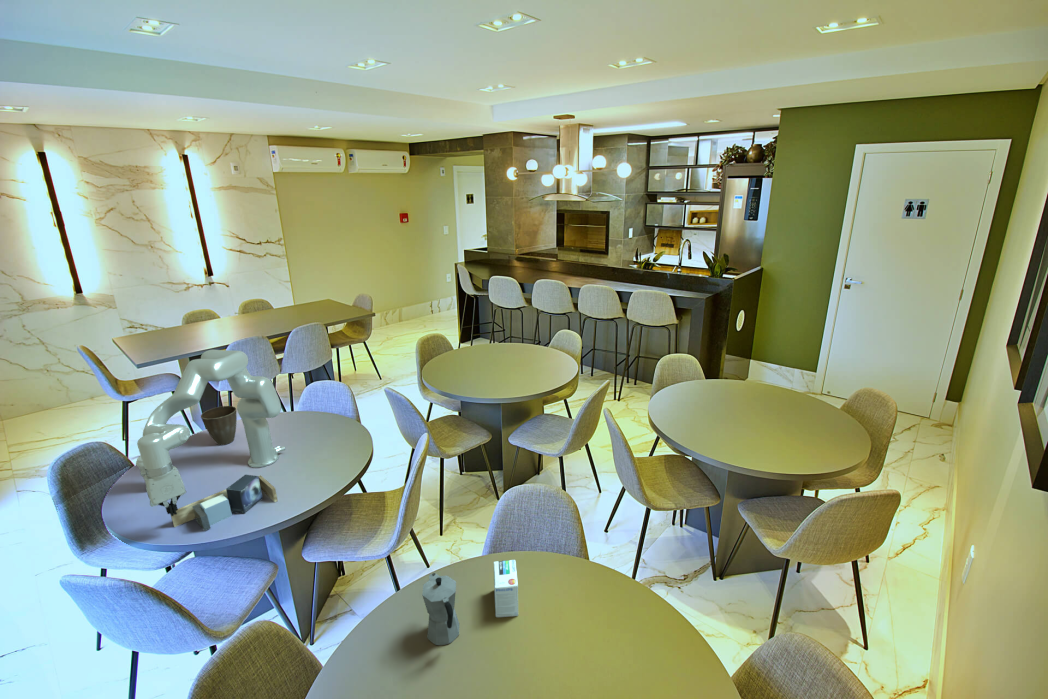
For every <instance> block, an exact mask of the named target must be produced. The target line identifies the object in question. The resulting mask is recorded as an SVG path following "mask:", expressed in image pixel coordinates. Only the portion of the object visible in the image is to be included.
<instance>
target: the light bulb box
mask: <svg viewBox="0 0 1048 699" xmlns="http://www.w3.org/2000/svg"><path fill="white" fill-rule="evenodd" d="M493 589H494V590H493V591H494V610H495V617H496V618H505V617H506V618H507V617H518V616H519V583H518V572H517V562H516V559H510V560H499V561H498V560H497V561H493Z"/></svg>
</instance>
